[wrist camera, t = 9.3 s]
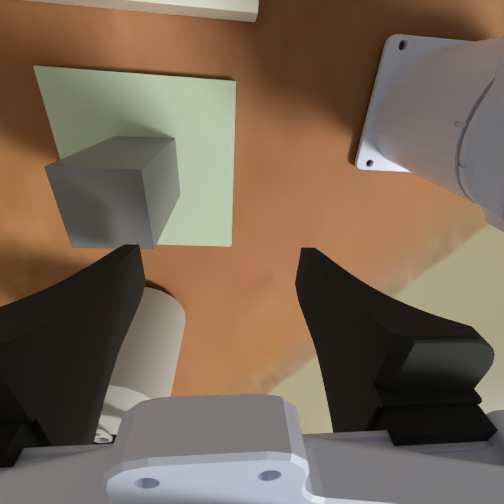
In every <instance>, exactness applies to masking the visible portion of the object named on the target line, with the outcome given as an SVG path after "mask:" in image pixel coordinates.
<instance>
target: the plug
mask: <svg viewBox="0 0 504 504" xmlns="http://www.w3.org/2000/svg"><path fill="white" fill-rule="evenodd" d="M45 170H46V173H47V176H48V179H49V182H50V185H51V188H52V191H53V194H54V196H55V199H56V202H57V205H58V208H59V211H60V214H61V217H62V220H63V223H64V225H65V228H66V231H67V234H68V237H69V240H70V243H71V246H72V248H119V247H120V246H122V245H124V244H138V245H139V246H140V249H154V248H155V246H156V244H157V242H158V240H159V238H160V236H161V234H162V232H163V230H164V228H165V226H166V224H167V221H168V219H169V217H170V215H171V213H172V211H173V209H174V207H175V205H176V203H177V201H178V199H179V197H180V185H179V174H178V163H177V153H176V142H175V138H152V137H126V136H114V137H111V138H109V139H107V140H104V141H102V142H100V143H97V144H95V145H93V146H91V147H88V148H86V149H84V150H81V151H79V152H77V153H75V154H72V155H70V156H68V157H65V158H63V159H61V160H58V161H56V162H54V163H52V164H49V165H47V166H45Z"/></svg>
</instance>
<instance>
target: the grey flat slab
mask: <svg viewBox="0 0 504 504" xmlns="http://www.w3.org/2000/svg"><path fill="white" fill-rule="evenodd" d="M24 1H34V2H45V3H55V4H66V5H76V6H87V7H98V8H108V9H119V10H129V11H140V12H150V13H161V14H171V15H182V16H193V17H203V18H214V19H224V20H235V21H245V22H255V21H256V18H257V15H258V6H259V0H24Z"/></svg>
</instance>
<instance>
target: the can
mask: <svg viewBox="0 0 504 504" xmlns="http://www.w3.org/2000/svg"><path fill="white" fill-rule="evenodd" d="M185 322H186V319H185V312H184V310H183V308H182V307H181V305H180V303H179V302H178V301H176V300H175V299H174V298H173V297H172V296H170V295H168V294H166V293H164V292H163V291H161V290H157V289H153V288H149V287H144V291H143V295H142V298H141V302H140V304H139V307H138V309H137V311H136V314H135V316H134V318H133V320H132V323H131V325H130V327H129V330H128V332H127V334H126V336H125V339H124V341H123V343H122V346H121V348H120V351H119V353H118V356H117V359H116V363H115V366H114V369H113V372H112V376H111V379H110V382H109V386H108V389H107V393H106V396H105V400H104V404H103V408H102V412H101V415H100V419H99V423H98V427H97V431H96V435H95V440H94V444H93V445H95V444H114V441H115V438H116V435H117V432H118V429H119V426H120V423H121V420H122V416H123V413H125V412H126V411H128V410H129V409H130V408H132V407H133V406H135V405H136V404H138V403H139V402H141V401H145V400H150V399H155V398H160V397H170V395H171V391H172V386H173V381H174V376H175V371H176V366H177V361H178V356H179V352H180V347H181V342H182V337H183V332H184V327H185Z"/></svg>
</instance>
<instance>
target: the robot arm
mask: <svg viewBox="0 0 504 504" xmlns="http://www.w3.org/2000/svg"><path fill="white" fill-rule="evenodd" d="M401 41H403V42H404V47H403V49H402V50H399V43H400V42H401ZM368 160H371V163H370V164H369V165H366V162H367V161H368ZM355 166H356V167H357V168H358V169H361V170H379V171H398V172H413V173H415V174H417V175H419V176H421V177H423V178H425V179H427V180H429V181H431V182H433V183H435V184H437V185H439V186H441V187H443V188H445V189H447V190H449V191H451V192H453V193H455V194H457V195H459V196H461V197H463V198H465V199H467V200H469V201H471V202H473V203H476V204H478V205H479V206H480V207H481V208H482V209H483V210H484V212H485V216H486V223H488V224H490V225H492V226H494V227H496V228H497V229H499V230H501V231H503V232H504V36H503V37H497V38H492V39H486V40H480V41H465V40H455V39H444V38H434V37H423V36H413V35H402V34H395V35H392V36H390V37H389V38H388V39H387V40H386V42H385V45H384V48H383V52H382V56H381V60H380V64H379V68H378V72H377V76H376V80H375V84H374V88H373V92H372V96H371V100H370V104H369V108H368V112H367V115H366V119H365V123H364V127H363V131H362V135H361V139H360V143H359V147H358V151H357V155H356V159H355ZM145 283H146V281H145V275H144V269H143V263H142V258H141V252H140V246H139V245H138V244H124V245H122V246H120V247H119V248H117V249H115V250H114V251H112V252H111V253H109V254H107V255H106V256H104V257H103V258H101V259H99V260H98V261H96V262H95V263H93V264H91V265H90V266H88V267H86V268H85V269H83V270H81V271H79V272H78V273H76V274H74V275H72V276H71V277H69V278H67V279H65V280H63V281H61V282H59V283H57V284H55V285H53V286H51V287H49V288H47V289H44V290H42V291H40V292H38V293H35V294H33V295H30V296H28V297H25V298H23V299H20V300H18V301H15V302H13V303H10V304H7V305H5V306H2V307H0V504H504V410H497V411H493V412H490V413H488V414H485V413H484V412H483V411H482V409H481V408H480V407H479V406H478V404H480V403H481V402H482V399H481V397H480V396H479V395H478V393H477V392H476V391H475V390H474V388H475V387H476V385H477V384H478V383H479V382H480V380H481V379H482V378H483V377H484V375H485V374H486V373H487V372H488V370H489V369H490V367H491V365H492V364H493V359H494V351H493V348H492V347H491V346H490V345H489V344H488V343H487V342H486V341H485V340H484V339H483V338H482V337H481V336H480V334H479V333H478V332H477V331H475V329H474V328H472V327H471V326H468V325H465V324H462V323H458V322H455V321H452V320H448V319H445V318H442V317H439V316H435V315H433V314H430V313H427V312H425V311H422V310H419V309H417V308H414V307H412V306H409V305H407V304H404V303H402V302H400V301H398V300H396V299H394V298H391V297H389V296H387V295H385V294H383V293H381V292H380V291H378V290H376V289H374V288H372V287H370V286H369V285H367V284H365V283H364V282H362V281H361V280H359V279H357V278H356V277H354V276H353V275H351V274H350V273H349V272H347V271H346V270H344V269H343V268H341V267H340V266H339V265H337V264H336V263H335V262H333V261H332V260H331V259H330V258H328V257H327V256H326V255H324V254H323V253H322V252H320V251H319V250H317V249H316V248H301V254H300V259H299V265H298V270H297V276H296V281H295V285H296V291H297V295H298V300H299V303H300V306H301V309H302V312H303V315H304V318H305V320H306V323H307V326H308V328H309V331H310V334H311V337H312V339H313V342H314V345H315V349H316V352H317V356H318V360H319V364H320V369H321V373H322V377H323V382H324V386H325V391H326V396H327V401H328V406H329V411H330V416H331V422H332V427H333V433H321V434H302V433H301V429H300V424H299V419H298V415H297V410H296V407H295V406H294V405H292V404H291V403H289V402H288V401H286V400H284V399H283V398H281V397H279V396H274V395H266V394H239V395H210V396H180V397H160V398H155V399H150V400H145V401H141V402H139V403H138V404H136V405H135V406H133V407H132V408H130V409H129V410H128V411H126V412H125V413H123V416H122V420H121V423H120V426H119V429H118V432H117V435H116V438H115V441H114V444H95V445H93V444H94V440H95V435H96V431H97V427H98V423H99V419H100V415H101V412H102V408H103V404H104V400H105V396H106V393H107V389H108V386H109V382H110V379H111V376H112V372H113V369H114V366H115V363H116V359H117V356H118V353H119V351H120V348H121V346H122V343H123V341H124V339H125V336H126V334H127V332H128V330H129V327H130V325H131V323H132V320H133V318H134V316H135V314H136V311H137V309H138V307H139V304H140V302H141V298H142V295H143V291H144V287H145Z"/></svg>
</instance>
